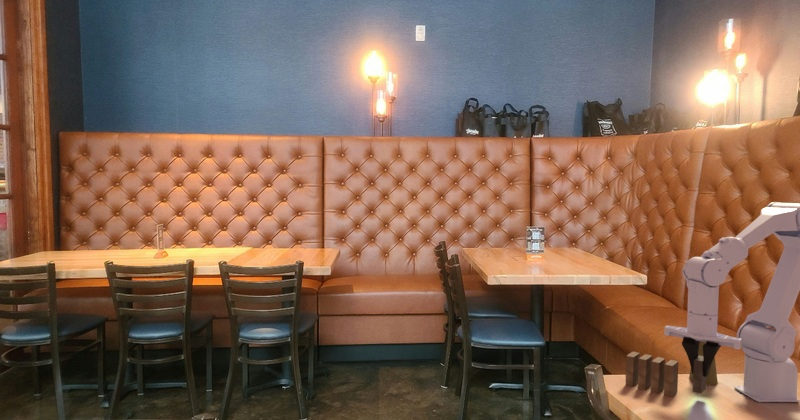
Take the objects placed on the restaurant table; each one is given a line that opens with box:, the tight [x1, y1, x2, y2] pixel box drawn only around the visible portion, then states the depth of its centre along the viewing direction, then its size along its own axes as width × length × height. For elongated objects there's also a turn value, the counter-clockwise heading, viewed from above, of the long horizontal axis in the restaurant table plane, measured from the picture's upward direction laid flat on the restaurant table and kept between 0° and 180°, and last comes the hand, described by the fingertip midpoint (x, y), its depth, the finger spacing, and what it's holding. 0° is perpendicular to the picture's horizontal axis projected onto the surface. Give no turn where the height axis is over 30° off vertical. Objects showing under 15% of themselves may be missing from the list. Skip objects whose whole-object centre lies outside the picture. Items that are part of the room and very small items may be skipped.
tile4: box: [637, 353, 653, 391], centre depth 121 cm, size 2×4×7 cm, turn 136°
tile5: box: [625, 351, 641, 387], centre depth 123 cm, size 2×4×7 cm, turn 136°
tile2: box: [663, 359, 679, 398], centre depth 117 cm, size 2×4×7 cm, turn 136°
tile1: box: [692, 355, 707, 395], centre depth 113 cm, size 2×4×7 cm, turn 136°
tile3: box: [650, 356, 666, 394], centre depth 119 cm, size 2×4×7 cm, turn 136°
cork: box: [688, 341, 719, 386], centre depth 125 cm, size 6×6×11 cm
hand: (700, 374), depth 113 cm, fingers closed on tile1, 1 cm apart
